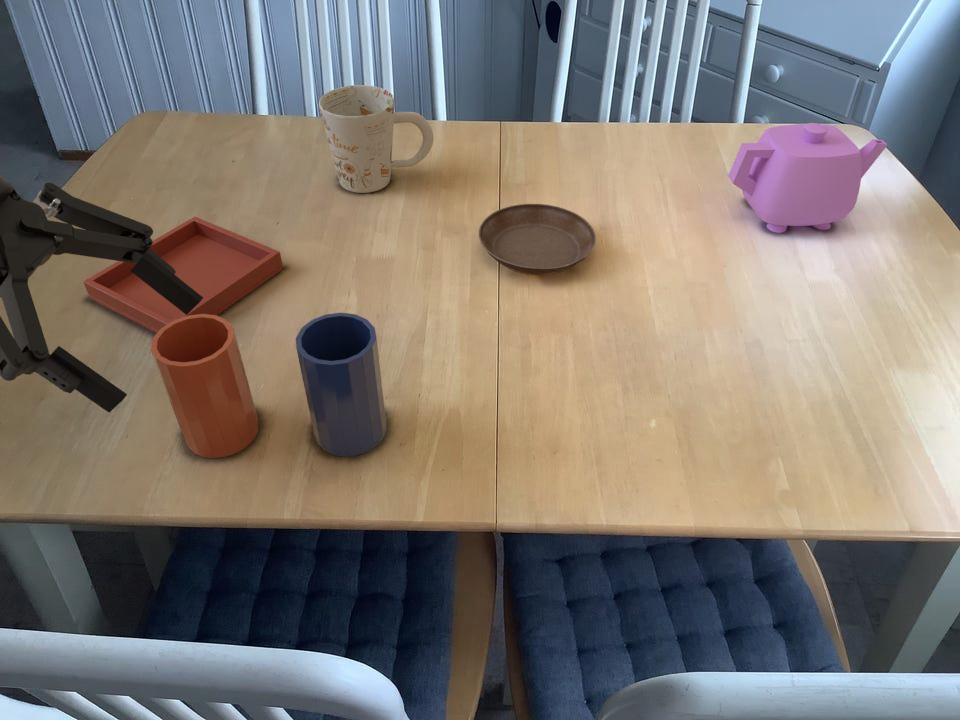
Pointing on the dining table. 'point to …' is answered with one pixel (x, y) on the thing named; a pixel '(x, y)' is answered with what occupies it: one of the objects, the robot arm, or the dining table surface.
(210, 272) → the red tray
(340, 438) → the blue tumbler
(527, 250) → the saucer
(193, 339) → the terracotta tumbler
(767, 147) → the teapot
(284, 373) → the dining table surface
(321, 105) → the mug
